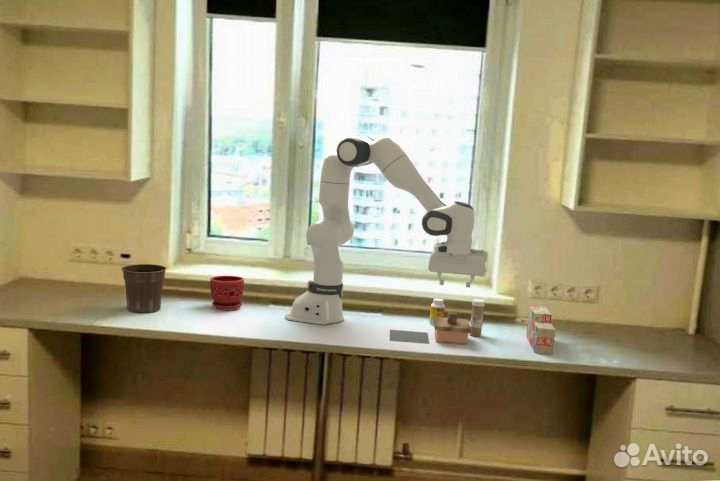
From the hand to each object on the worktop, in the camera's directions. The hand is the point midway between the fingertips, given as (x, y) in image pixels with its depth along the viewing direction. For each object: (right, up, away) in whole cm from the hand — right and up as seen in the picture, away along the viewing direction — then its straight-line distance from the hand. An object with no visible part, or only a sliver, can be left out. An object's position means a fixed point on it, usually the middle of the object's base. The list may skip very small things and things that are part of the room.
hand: (454, 285), depth 252 cm
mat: (-16, -19, +3) cm, 25 cm away
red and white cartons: (+31, -22, +4) cm, 38 cm away
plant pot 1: (-116, -10, +16) cm, 118 cm away
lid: (-1, -15, +2) cm, 15 cm away
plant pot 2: (-87, -11, +27) cm, 92 cm away
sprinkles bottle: (+9, -19, +12) cm, 24 cm away
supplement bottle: (-4, -17, +22) cm, 28 cm away
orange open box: (-1, -20, +3) cm, 20 cm away
